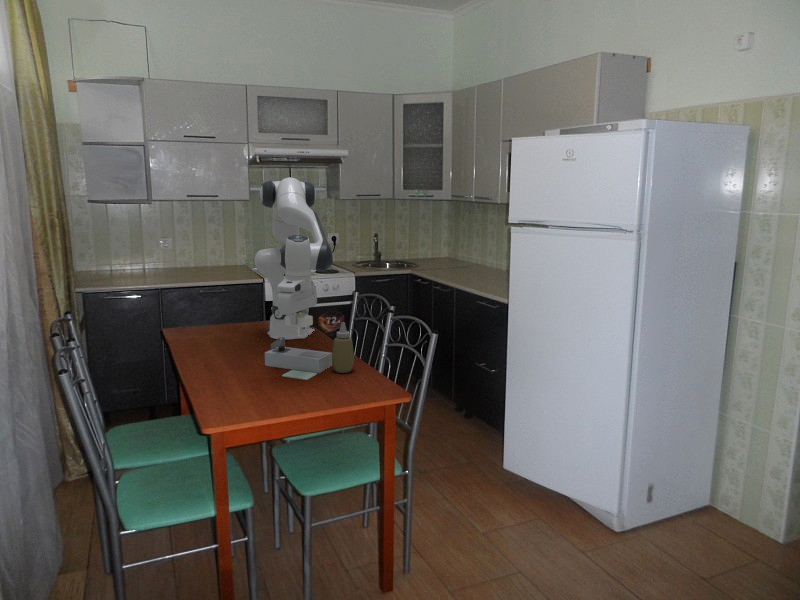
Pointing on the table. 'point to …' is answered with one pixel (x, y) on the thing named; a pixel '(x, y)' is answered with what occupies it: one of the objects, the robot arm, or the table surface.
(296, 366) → the block
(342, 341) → the squeeze bottle
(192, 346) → the table surface
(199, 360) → the table surface
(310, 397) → the table surface
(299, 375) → the pad
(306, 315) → the cover
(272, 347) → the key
